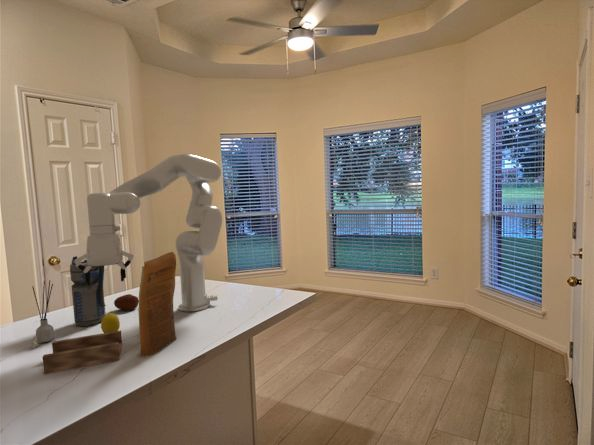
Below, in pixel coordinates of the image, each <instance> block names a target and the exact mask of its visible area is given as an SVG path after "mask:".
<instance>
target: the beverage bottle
mask: <svg viewBox="0 0 594 445" xmlns="http://www.w3.org/2000/svg"><path fill="white" fill-rule="evenodd" d="M77 258H78V256H77V255H76V256H72V259H71V263H70V265H69V273H70V274H69V275H70V281H71V282H72V283H73V284H72V285H71V298H72V308H73V319H74V323H75V324H76V326H79V327H80V326H81V327H87V326H93V325H96V324H99V323H100V324H101V321H102V319H103V317H104V316H105V315H107V314H106V306H107V305H106V304H105V303H106V302H105V292H104V278H105V266H92V267H91V269H90V272H91V277H92V283H91V285H88V282H86V279H85V273H84V272H83V271H82V270H80V269H79V268H78V266H77V265H76V264H75V262H74V260H75V259H77ZM81 264H82V265H84V266H85V267H87V266H88V265H87V259H84V260H82V261H81Z"/></svg>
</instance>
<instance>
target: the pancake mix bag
mask: <svg viewBox="0 0 594 445" xmlns="http://www.w3.org/2000/svg"><path fill="white" fill-rule="evenodd" d="M176 257H177V256H176V254H175V252H173V251H171V252H168V253H167V252H166V253H164V254H162V255H159V256H157V257H156V258H152V259H150V260H146V261H145V262H144V263H143V265H144V266H142V267H141V275H140V284H139V289H138V290H139V291H138V300H139V302H138V309H137V310H138V325H139V326H138V328H139V330H138V331H139V333H138V335H139V346H140V350H139V351H140V354H139V357H140V358H143V357H147V356H148V357H149V356H151V355H155V354H157V353H158V352H160V351H161V350H163V349H164V348H165V347H167V346H168V345H171V343H173V342H174V341H176V340H177V335H176V326H175V315H174V314H175V313H174V312H175V311H174V295H175V289H176V269H177V258H176Z"/></svg>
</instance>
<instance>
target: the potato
mask: <svg viewBox="0 0 594 445" xmlns="http://www.w3.org/2000/svg"><path fill="white" fill-rule="evenodd" d="M113 304H114V307H115V308H117V309H118V310H120V311H133V310H136V308H137V307H139V296H135V295H132V294H130V293H129V294H123V295H121V296H119V297H117V298H115V299H114V302H113Z"/></svg>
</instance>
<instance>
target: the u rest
mask: <svg viewBox="0 0 594 445" xmlns="http://www.w3.org/2000/svg"><path fill="white" fill-rule="evenodd" d="M122 335H123V334H122V330H118V331H115V332H108V333H103V332H102V333H97V334H91V335H85V336H79V337H78V336H77V337H72V338H66V339H60V340H54V341H52V342H51V350H52V353H47V354H43V355H42V356H41V357H42V368H43V375H47V374H52V373H58V372H62V371H63V372H64V371H69V370H73V369H79V368H85V367H91V366H95V365H101V364H105V363H110V362H116V361H120V359H121V354H122V350H123V349H122V348H123V336H122Z"/></svg>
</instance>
